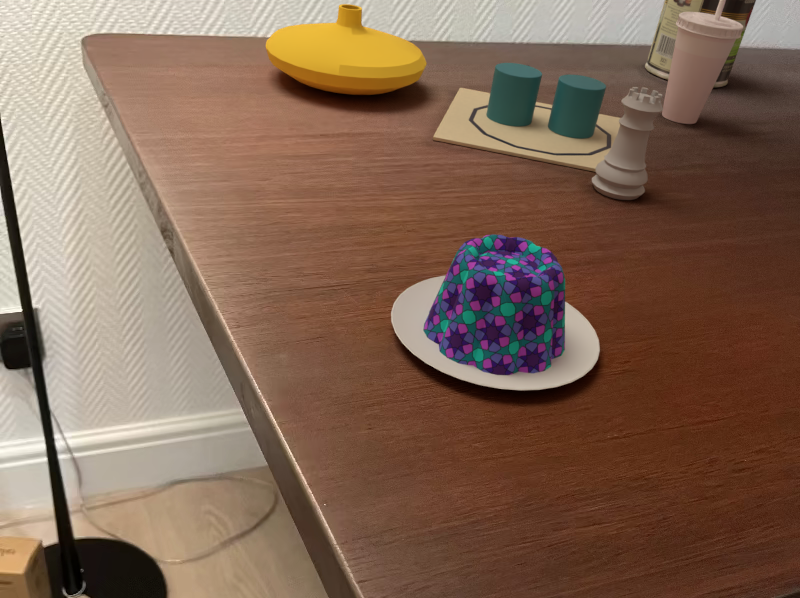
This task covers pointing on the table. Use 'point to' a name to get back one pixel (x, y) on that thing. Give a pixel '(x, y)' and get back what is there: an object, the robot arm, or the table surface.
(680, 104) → the smoothie
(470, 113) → the sheet
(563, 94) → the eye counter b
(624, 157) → the rook chess piece
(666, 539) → the table surface
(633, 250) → the table surface
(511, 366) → the pudding
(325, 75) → the vase
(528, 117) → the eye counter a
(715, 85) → the coffee can
